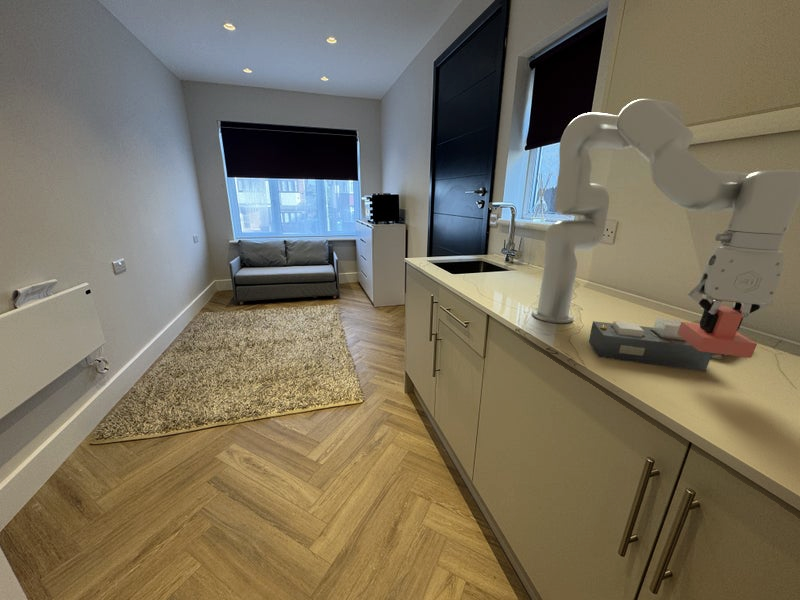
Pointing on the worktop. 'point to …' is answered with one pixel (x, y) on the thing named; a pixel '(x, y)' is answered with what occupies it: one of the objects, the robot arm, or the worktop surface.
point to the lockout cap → (719, 335)
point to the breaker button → (627, 329)
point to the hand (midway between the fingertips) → (716, 330)
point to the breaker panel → (649, 346)
